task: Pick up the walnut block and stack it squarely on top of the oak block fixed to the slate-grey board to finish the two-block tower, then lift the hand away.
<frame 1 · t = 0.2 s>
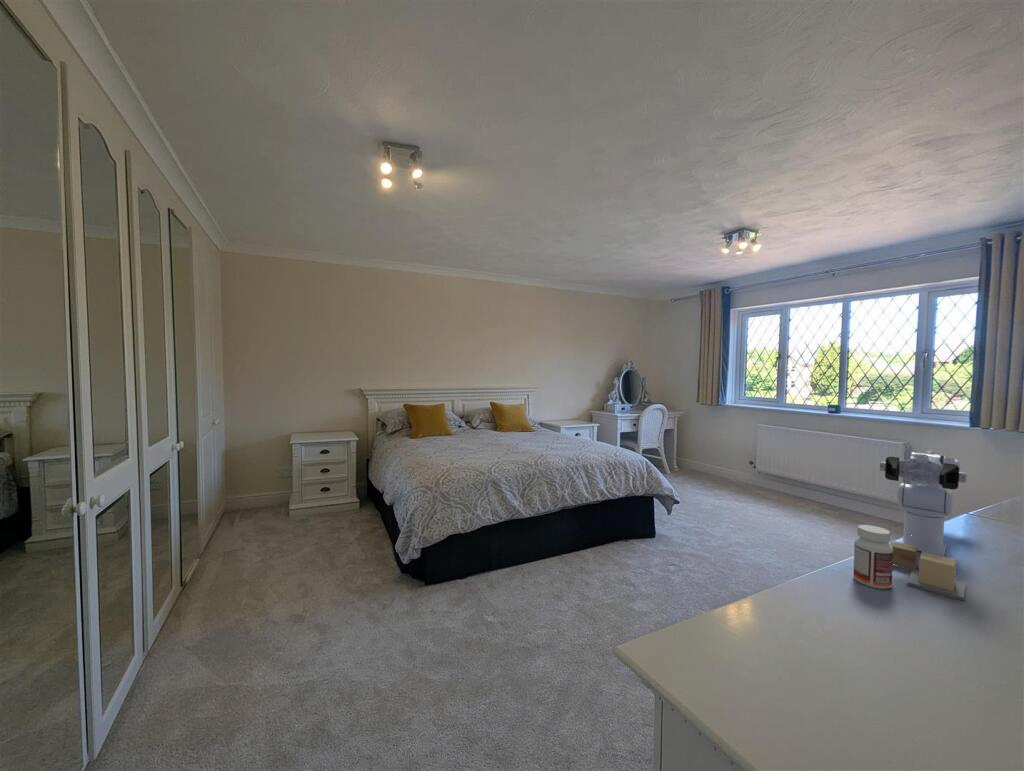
hand: (916, 475, 94), 21 cm above the cabinet, tool horizontal, fingers open, 7 cm apart
pill bottle: (871, 583, 88), on the cabinet
walnut block: (902, 564, 97), on the cabinet
tower base: (936, 585, 88), on the cabinet
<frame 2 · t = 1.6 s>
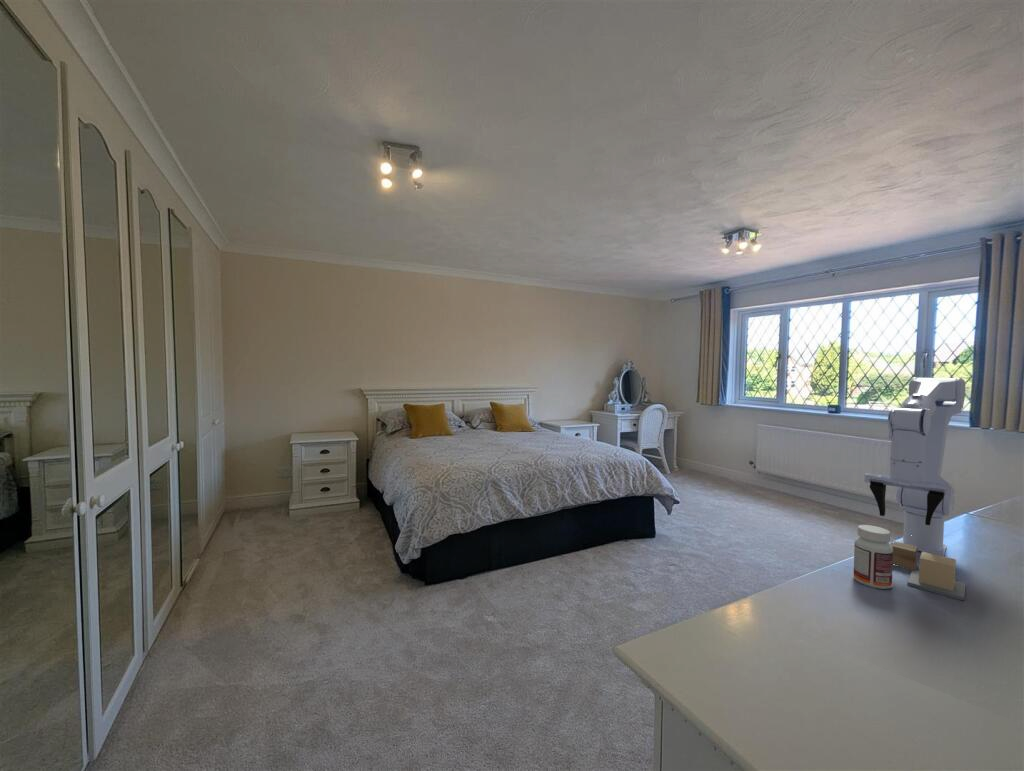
hand: (904, 519, 97), 10 cm above the cabinet, tool pointing down, fingers open, 7 cm apart
nothing on the cabinet moved.
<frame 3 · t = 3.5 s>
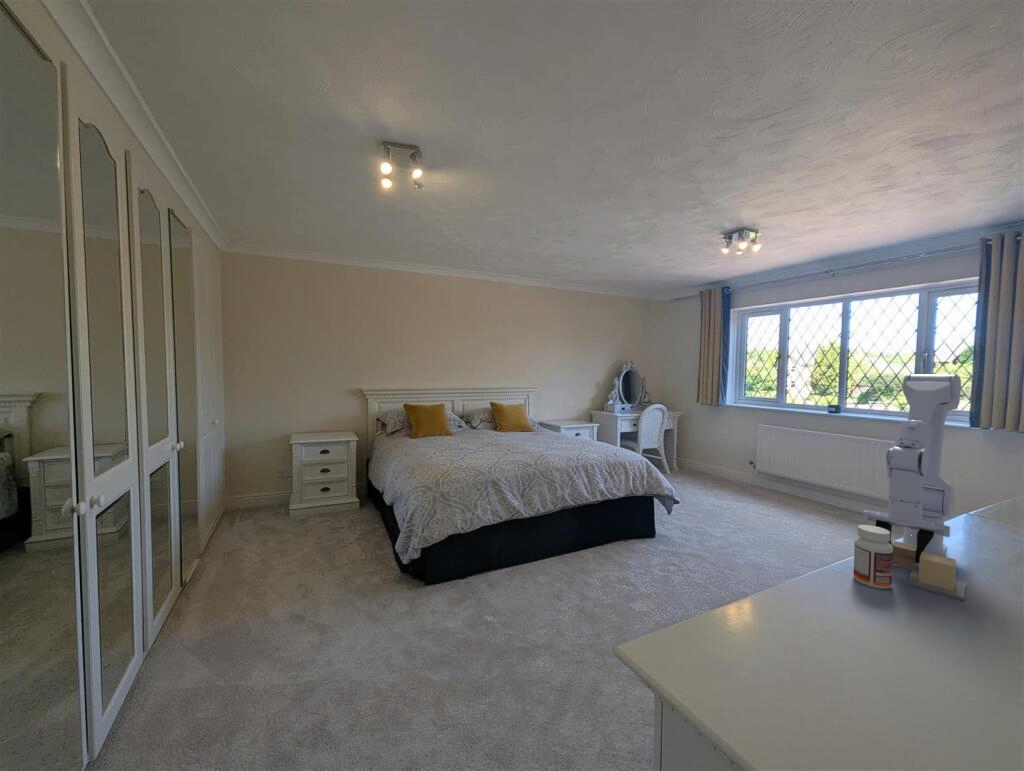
hand: (902, 558, 97), 1 cm above the cabinet, tool pointing down, fingers closed on walnut block, 4 cm apart
walnut block: (902, 564, 97), on the cabinet, touching gripper
everything else where it was.
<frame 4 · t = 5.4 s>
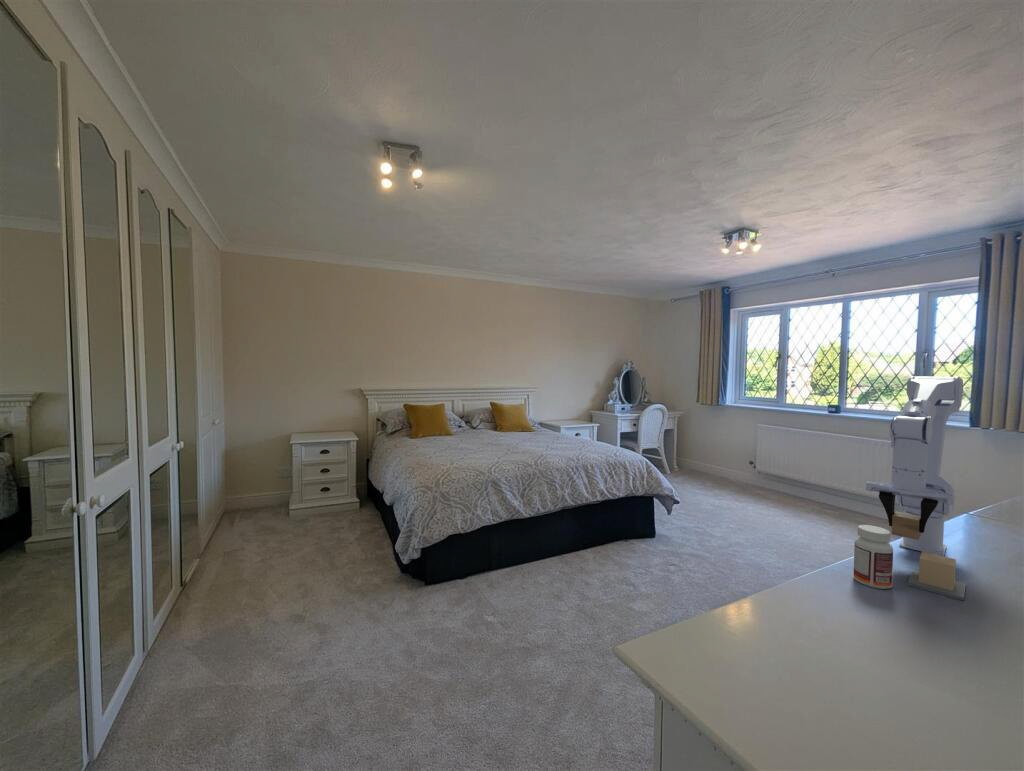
hand: (906, 528, 96), 9 cm above the cabinet, tool pointing down, fingers closed on walnut block, 4 cm apart
walnut block: (906, 534, 96), point 7 cm above the cabinet, touching gripper
everything else where it was.
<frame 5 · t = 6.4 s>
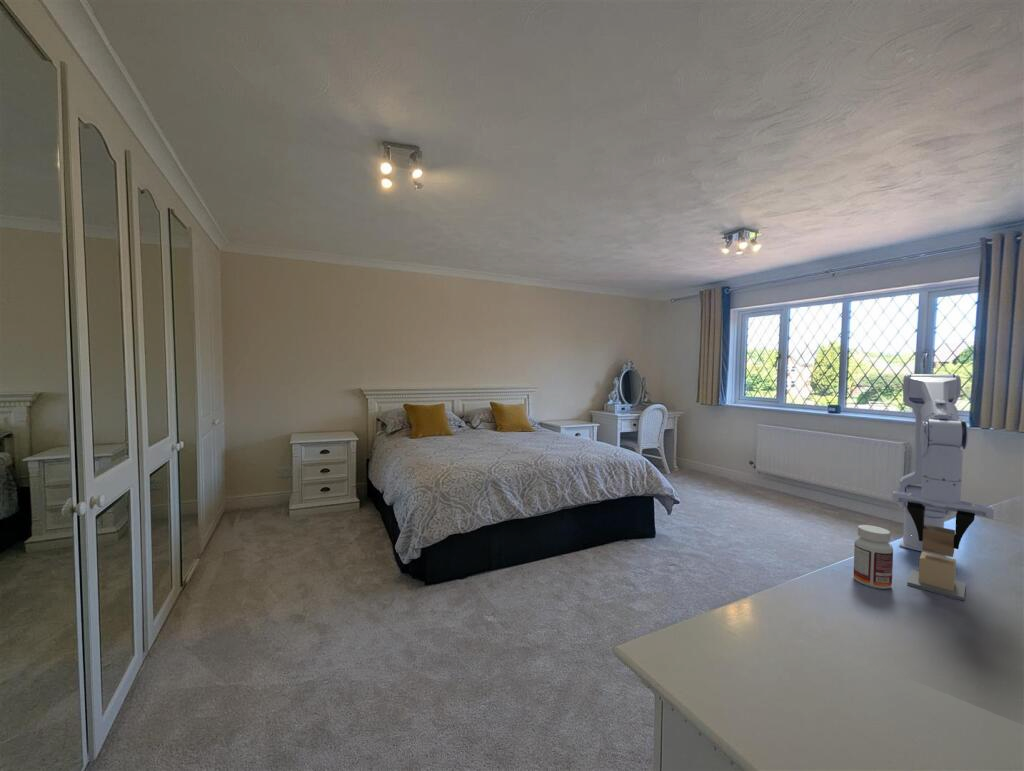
hand: (938, 543, 87), 9 cm above the cabinet, tool pointing down, fingers closed on walnut block, 4 cm apart
walnut block: (938, 550, 87), point 7 cm above the cabinet, touching gripper
everything else where it was.
when the fingers open (8 cm above the cabinet, at t = 7.3 s): walnut block stays where it is, resting on tower base.
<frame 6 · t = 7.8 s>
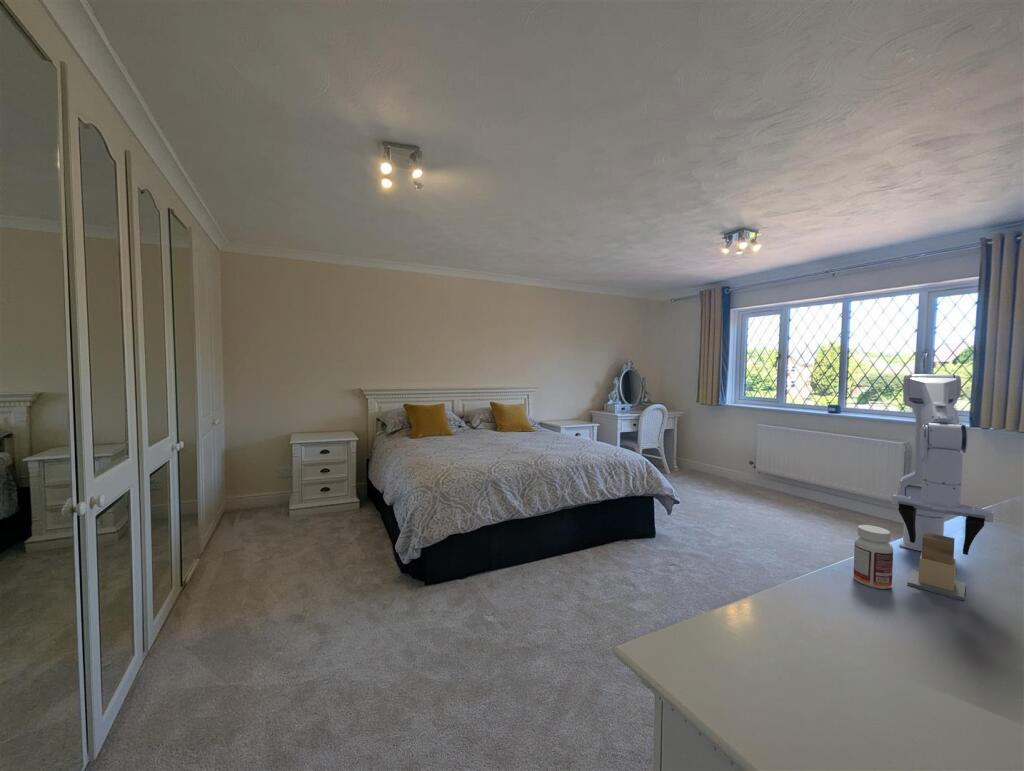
hand: (938, 547, 87), 8 cm above the cabinet, tool pointing down, fingers open, 7 cm apart
walnut block: (937, 558, 87), point 6 cm above the cabinet, touching tower base
everything else where it was.
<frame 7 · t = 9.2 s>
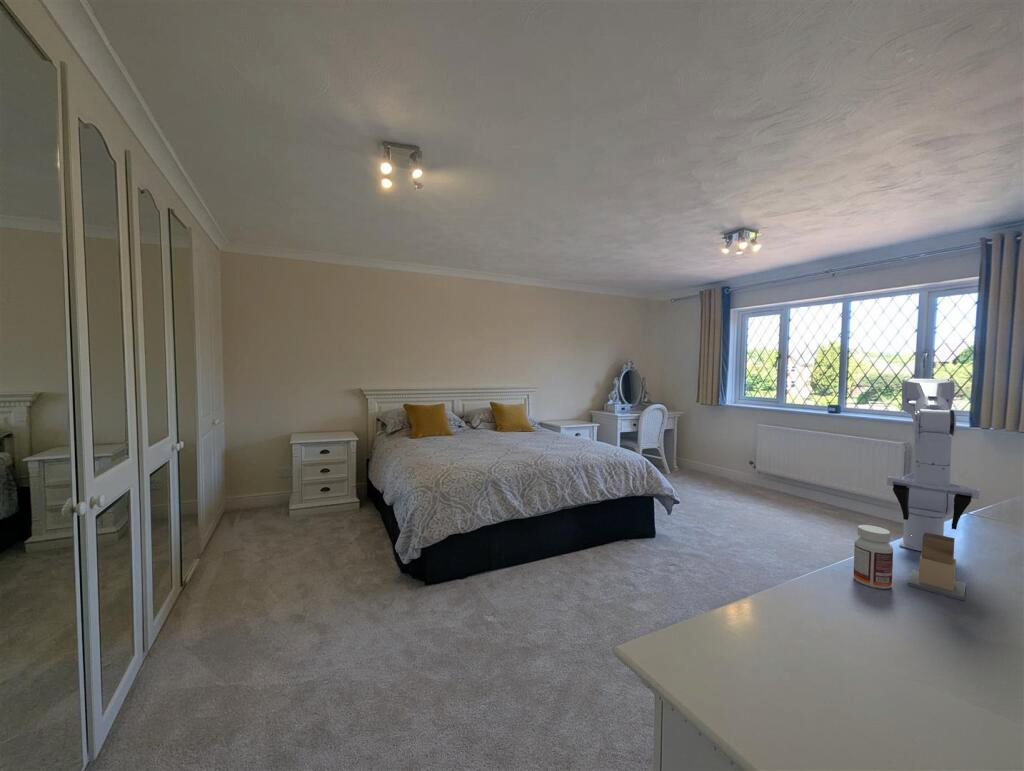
hand: (929, 523, 95), 10 cm above the cabinet, tool pointing down, fingers open, 7 cm apart
nothing on the cabinet moved.
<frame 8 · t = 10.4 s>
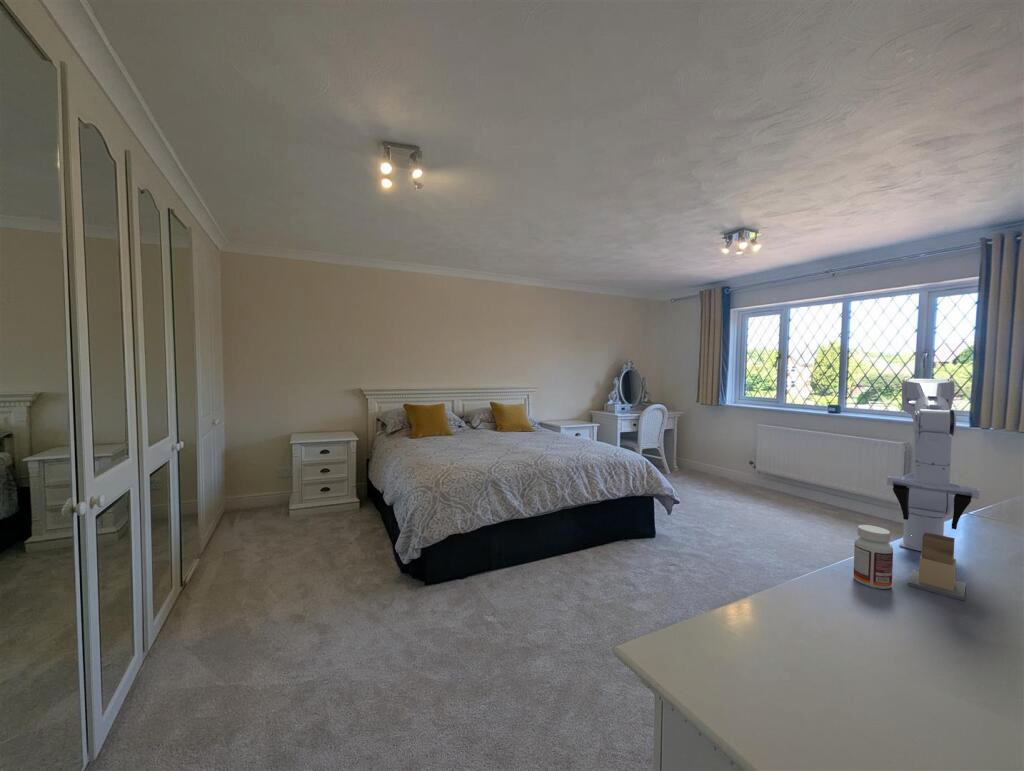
hand: (929, 523, 95), 10 cm above the cabinet, tool pointing down, fingers open, 7 cm apart
nothing on the cabinet moved.
at the end: walnut block 0.0 cm from the tower base (horizontally); walnut block point 5.6 cm above the cabinet; walnut block tilted 0° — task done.
